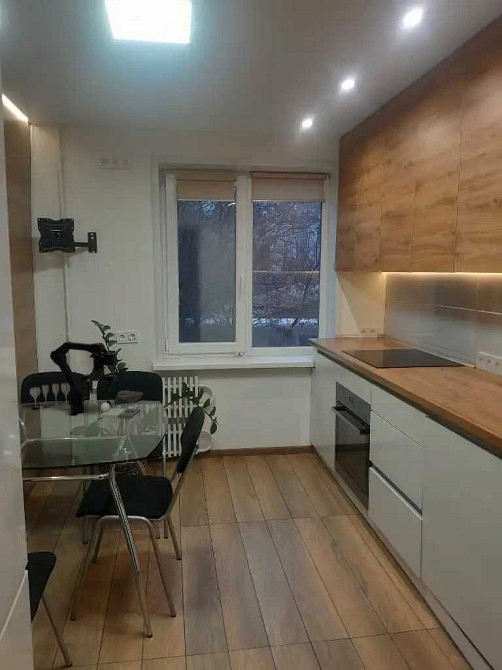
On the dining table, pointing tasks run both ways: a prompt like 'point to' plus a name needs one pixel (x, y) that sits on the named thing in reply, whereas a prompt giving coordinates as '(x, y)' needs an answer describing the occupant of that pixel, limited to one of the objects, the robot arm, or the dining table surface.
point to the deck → (120, 413)
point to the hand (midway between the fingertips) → (99, 393)
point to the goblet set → (55, 387)
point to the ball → (105, 407)
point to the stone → (128, 397)
